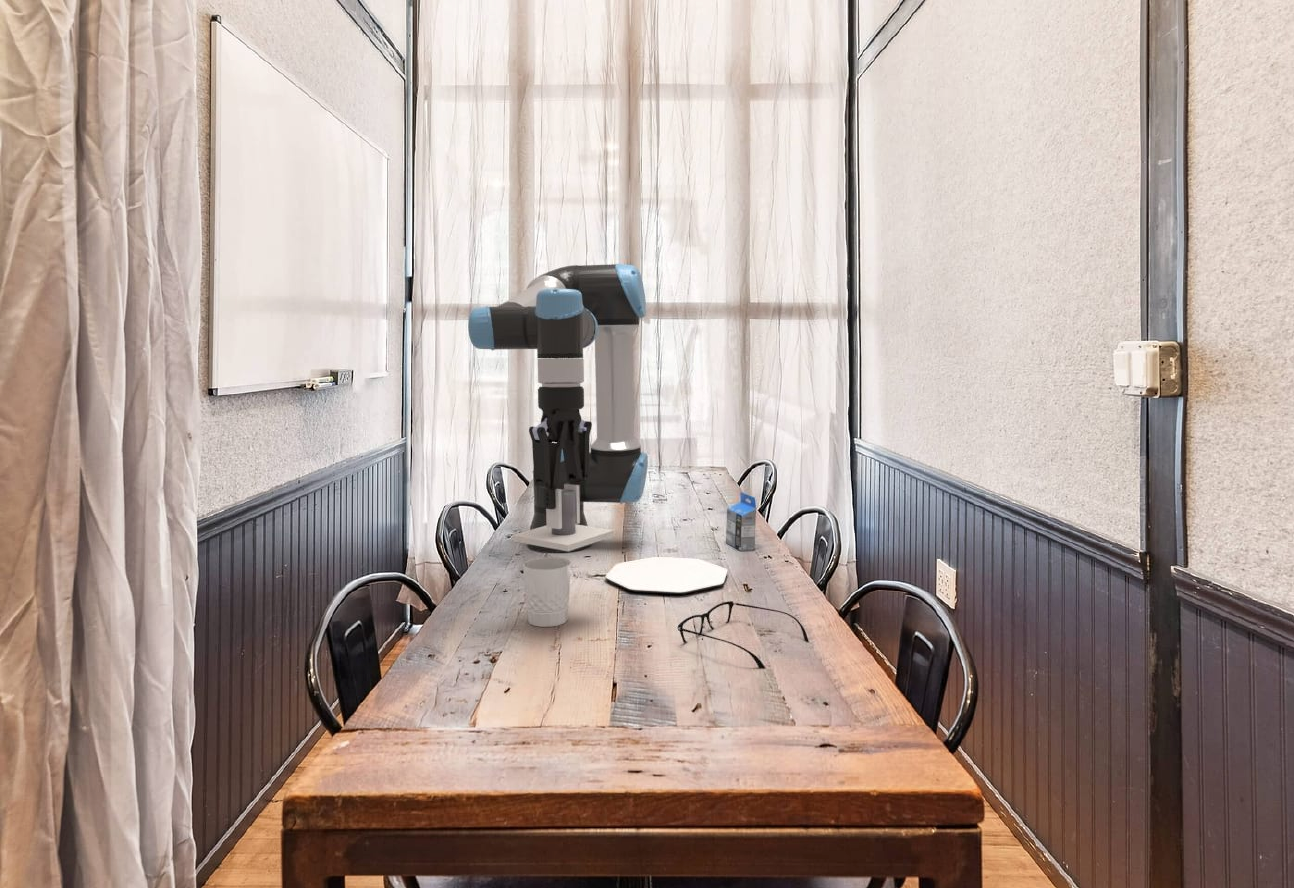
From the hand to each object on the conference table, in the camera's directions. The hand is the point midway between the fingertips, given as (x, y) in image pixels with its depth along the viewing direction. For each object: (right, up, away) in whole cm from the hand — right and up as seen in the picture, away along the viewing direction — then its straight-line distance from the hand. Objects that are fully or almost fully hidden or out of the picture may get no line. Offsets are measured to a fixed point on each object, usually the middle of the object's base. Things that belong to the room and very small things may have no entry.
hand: (563, 524), depth 127 cm
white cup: (-3, -17, +2) cm, 17 cm away
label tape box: (+36, -11, +51) cm, 63 cm away
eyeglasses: (+29, -18, -9) cm, 35 cm away
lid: (0, -2, 0) cm, 2 cm away
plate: (+18, -14, +26) cm, 35 cm away
